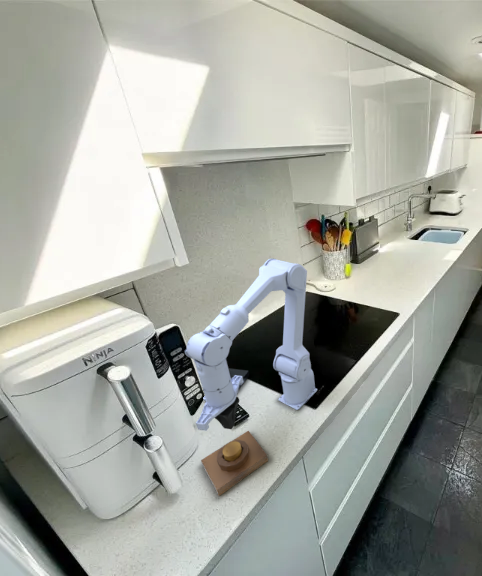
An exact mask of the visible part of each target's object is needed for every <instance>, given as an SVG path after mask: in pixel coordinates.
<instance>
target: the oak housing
mask: <svg viewBox="0 0 482 576" xmlns="http://www.w3.org/2000/svg"><path fill="white" fill-rule="evenodd" d="M233 441H236V442H239V443H240V445H241V449H242V453H241V455H240V456H239V457H238V458H237V459H236V460H234V461H226V460H225V459H224V455H223V448H224V447H225V446H226V445H227V444H228V443H230V442H233ZM268 462H269V457H268V454H267V453H266V452H265V450H264V449H263V448H262V446H261V445H260V443H259V442H258V441H257V439H256V438H255V437H254V436H253V434H252V432H250V430H247V431H245V432H243V433H241V434H240V435H239V436H237V437H236V438H234V439H232V440H231V441H229V442H227V443H226V444H224V445H222V446H221V447H220V448H219V449H218V448H217V450H215V451H213V452H212V453H210V454H209V455H206V456H205V457H204V458H202V459H201V460H200V463H201V465H202V468H203V469H204V472H205V473H206V475H207V477H208V479H209V480H210V482H211V485H212V486H213V488H214V490H215V492H216V494H217V495H218V497H220V496H222V495H223V494H224V493H226V492H227V491H228V490H230V489H231V488H233V487H234V486H235V485H237V484H238V483H239V482H241V481H242V480H244V479H246V477H248V476H249V475H250V474H252V473H253V472H255V471H256V470H257V469H259V468H260V467H262V466H263V465H265V464H266V463H268Z"/></svg>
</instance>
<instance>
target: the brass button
mask: <svg viewBox="0 0 482 576" xmlns="http://www.w3.org/2000/svg"><path fill="white" fill-rule="evenodd" d="M229 442H230V441H229ZM229 442H227V443H228V444H227V443H226V444H227V445H226V444H225V445H226V446H225V447H224V448H223V455H224V459H225V460H226V461H234V460H236V459H237V458H238V457H239V456H240V455H241V453H242V449H241V445H240V443H239V442H236V441H233V442H230V443H229Z"/></svg>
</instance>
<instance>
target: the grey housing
mask: <svg viewBox="0 0 482 576" xmlns="http://www.w3.org/2000/svg"><path fill="white" fill-rule="evenodd" d="M228 369H229V373H230V377H231V379H232V378H233V377H234V376H235V375H237V376H242V377H243V381H244V382H243V384H242V385H239V389H238V391H239V390H240V389H241V388H242V387H243V385H244V384H245V383H246V381H247V380H248V378H249V377H250V372H249V370H245V369H236V368H231V367H230V368H229V367H228Z"/></svg>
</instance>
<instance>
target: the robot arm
mask: <svg viewBox="0 0 482 576" xmlns="http://www.w3.org/2000/svg"><path fill="white" fill-rule="evenodd" d="M307 278H308V270H307V269H306V268H305V267H304V266H303V265H302V264H300V263H294V262H289V261H286V260H285V261H284V260H279V259H276V258H268V259H267V260H266V261H264V263H263V265H261V266H260V267H259V270H258V276H257V277H256V278H255V280H254V281H253V282H252V283H251V285H250V286H249V287H248V288H247V290H246V291H245V292H244V293H243V295H242V296H241V297H240V299H239V300H238V301H237V302H236V303H235V304H230V305H226V307H223V308H222V309H221V310H220V311H219V314H218V315H217V316H216V317H215V318H214V320H212V321H211V322H210V324H208V326H206V328H204V329H203V331H199V332H197V333H195V334H193V335H192V336H191V337H190V338H189V339H188V340H187V344H186V349H185V350H184V354H185V355H186V357H188V358H190V359H192V360H193V361H194V365H195V368H196V371H197V375H198V377H199V381H200V384H201V389H202V388H203V391H204V394H205V396H204V397H203V402H204V405H203V408H202V409H201V412H200V415H199V417H198V419H197V420H196V422H195V426H196V428H197V430H199V431H204V432H206V431H207V432H208V430H209V428H210V425H209V424H210V423H211V422H212V421H213V420H214V419H215V420H216V421H217V422H219V424H220V425H221V426H222V428H223V429H227V430H232V429H233V428H234V426H235V423H236V414H237V409H238V405H239V403H240V398H239V397H238V396H237V395H238V392H239V390H240V389H239V385H242V384H243V382H244V381H243V377H242V376H237V375H235V376H234V377H233V378H232V379H231V377H230V373H229V369H228V368H229V366H228V361H227V357H228V356H229V354H230V348H231V346H233V341H234V339H235V338H236V337H237V336H238V335H239V333H241V331H243V329H244V328H245V327H246V325H247V324H248V323H249V321H250V320H249V314H250V313H251V312H252V311H253V310H254V309H255V308H256V307H257V306H258V305H259V304H260V303H262V301H263V300H264V299H265V298H266V297H267V296H269V294H271V292H277V291H278V292H279V291H282V292H283V293H284V295H285V296H284V315H283V332H282V333H283V335H282V345H280V346H279V347H278V348H277V349H276V350H275V356H274V359H273V363H272V367H273V369H274V370H275V371H276V372H278V375H279V376H280V380H281V386H282V392H283V394H282V395H280V396H279V397H278V399H277V400H278V402H280V403H283V404H284V405H286V406H288V407H290V408H292V409H294V410H296V411H298V410H300V409H301V408H302V407H303V406H304V405H305V404H306V403H307V402H308V401H309V400H310V399H311V398H312V397H313V396H314V395H315V393H317V392H318V388H316V384H315V375H314V371H313V369H312V364H311V363H312V362H311V359H310V352H309V351H308V349H306V347H305V346H304V345H303V341H304V340H303V339H304V338H303V337H304V325H305V324H304V323H305V310H306V309H305V308H306V306H305V305H306V295H307V294H306V293H307V292H306V291H307ZM244 383H245V382H244ZM243 385H244V384H243ZM243 385H242V386H243ZM238 389H239V390H238Z"/></svg>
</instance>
